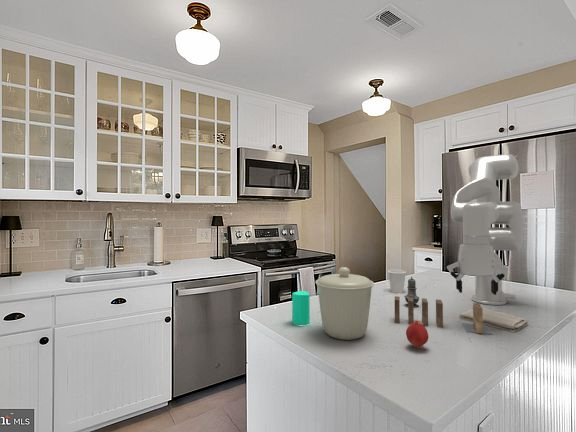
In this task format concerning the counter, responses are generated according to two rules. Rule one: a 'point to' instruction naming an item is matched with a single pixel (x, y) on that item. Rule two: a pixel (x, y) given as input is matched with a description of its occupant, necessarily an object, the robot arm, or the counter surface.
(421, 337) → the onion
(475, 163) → the robot arm
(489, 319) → the washcloth
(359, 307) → the canister
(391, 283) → the dixie cup
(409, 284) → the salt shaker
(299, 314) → the candle
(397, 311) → the domino
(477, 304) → the domino
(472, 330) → the pad
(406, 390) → the counter surface
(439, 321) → the domino
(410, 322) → the domino
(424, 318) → the domino
